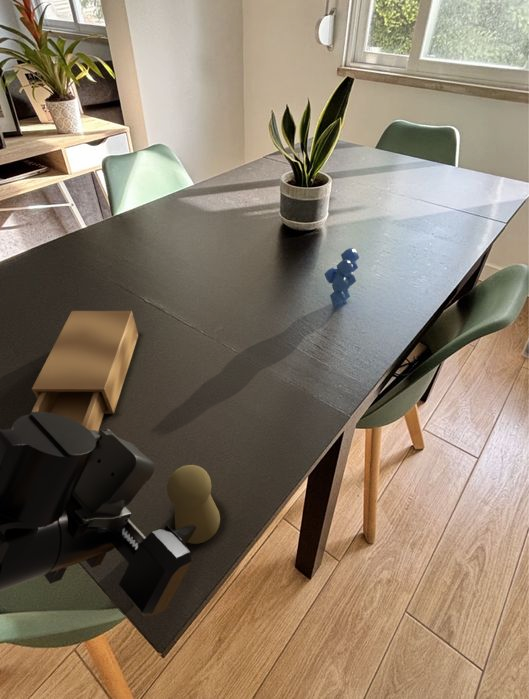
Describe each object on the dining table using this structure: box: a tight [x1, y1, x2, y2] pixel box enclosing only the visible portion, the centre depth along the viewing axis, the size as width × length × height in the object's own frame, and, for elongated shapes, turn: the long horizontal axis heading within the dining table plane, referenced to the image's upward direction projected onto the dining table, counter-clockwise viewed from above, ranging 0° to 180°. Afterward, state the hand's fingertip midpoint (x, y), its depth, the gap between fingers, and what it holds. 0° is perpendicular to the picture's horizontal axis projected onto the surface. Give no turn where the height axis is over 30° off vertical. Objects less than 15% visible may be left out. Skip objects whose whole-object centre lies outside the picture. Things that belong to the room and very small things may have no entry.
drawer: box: [31, 392, 107, 432], centre depth 66 cm, size 22×10×5 cm, turn 0°
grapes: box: [324, 247, 360, 310], centre depth 88 cm, size 12×7×12 cm, turn 158°
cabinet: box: [31, 310, 139, 415], centre depth 75 cm, size 19×11×6 cm, turn 0°
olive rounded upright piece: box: [166, 464, 221, 545], centre depth 53 cm, size 6×6×11 cm
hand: (166, 503), depth 48 cm, fingers open, 9 cm apart
